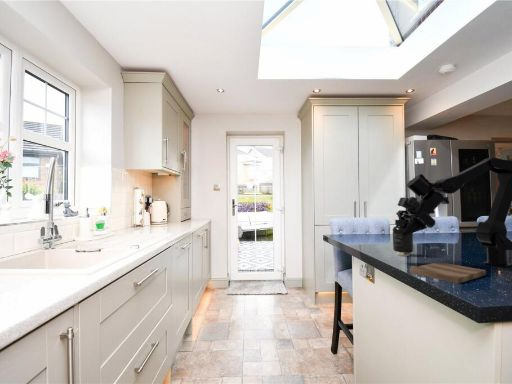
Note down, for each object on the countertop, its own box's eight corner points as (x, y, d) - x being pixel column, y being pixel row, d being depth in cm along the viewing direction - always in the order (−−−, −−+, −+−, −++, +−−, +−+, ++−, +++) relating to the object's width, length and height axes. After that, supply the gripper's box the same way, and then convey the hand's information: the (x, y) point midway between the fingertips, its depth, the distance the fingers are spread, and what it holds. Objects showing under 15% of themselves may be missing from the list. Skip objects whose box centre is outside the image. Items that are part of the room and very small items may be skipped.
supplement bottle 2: (405, 256, 116) (405, 232, 116) (393, 254, 120) (392, 231, 121) (412, 255, 119) (411, 232, 119) (400, 253, 124) (399, 231, 124)
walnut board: (438, 266, 99) (438, 262, 99) (485, 274, 87) (485, 270, 87) (409, 272, 90) (409, 268, 90) (458, 283, 78) (457, 278, 78)
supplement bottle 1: (417, 252, 100) (416, 220, 100) (398, 253, 100) (397, 220, 100) (407, 249, 107) (406, 219, 107) (389, 249, 107) (388, 219, 107)
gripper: (400, 191, 113) (374, 217, 114) (424, 188, 95) (393, 220, 95) (420, 209, 112) (394, 236, 113) (449, 211, 94) (417, 243, 94)
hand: (398, 233), depth 104 cm, fingers closed on supplement bottle 1, 7 cm apart
